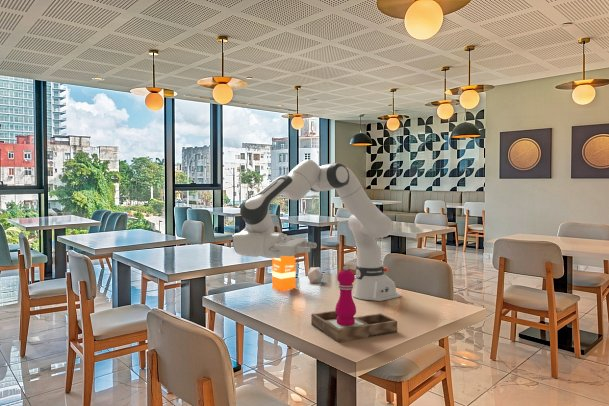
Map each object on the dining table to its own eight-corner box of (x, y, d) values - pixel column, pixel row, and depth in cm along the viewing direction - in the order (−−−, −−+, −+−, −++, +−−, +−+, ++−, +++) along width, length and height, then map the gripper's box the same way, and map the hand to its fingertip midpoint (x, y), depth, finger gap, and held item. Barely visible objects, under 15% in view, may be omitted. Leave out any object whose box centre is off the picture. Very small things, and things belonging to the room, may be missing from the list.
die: (317, 286, 226) (327, 270, 229) (303, 277, 227) (313, 261, 230) (317, 288, 234) (326, 273, 236) (303, 279, 235) (312, 264, 238)
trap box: (365, 316, 175) (365, 305, 174) (396, 332, 157) (397, 320, 156) (311, 324, 164) (311, 313, 164) (338, 342, 146) (338, 329, 146)
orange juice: (272, 288, 219) (272, 248, 218) (286, 285, 225) (286, 246, 224) (280, 291, 213) (281, 250, 212) (295, 288, 219) (295, 248, 218)
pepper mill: (333, 319, 156) (334, 263, 155) (353, 319, 157) (354, 263, 156) (336, 326, 149) (337, 267, 148) (358, 325, 150) (358, 267, 149)
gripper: (266, 241, 148) (306, 243, 145) (284, 233, 168) (319, 235, 164) (266, 259, 149) (305, 262, 145) (284, 249, 168) (319, 251, 165)
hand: (313, 247), depth 155 cm, fingers open, 8 cm apart
